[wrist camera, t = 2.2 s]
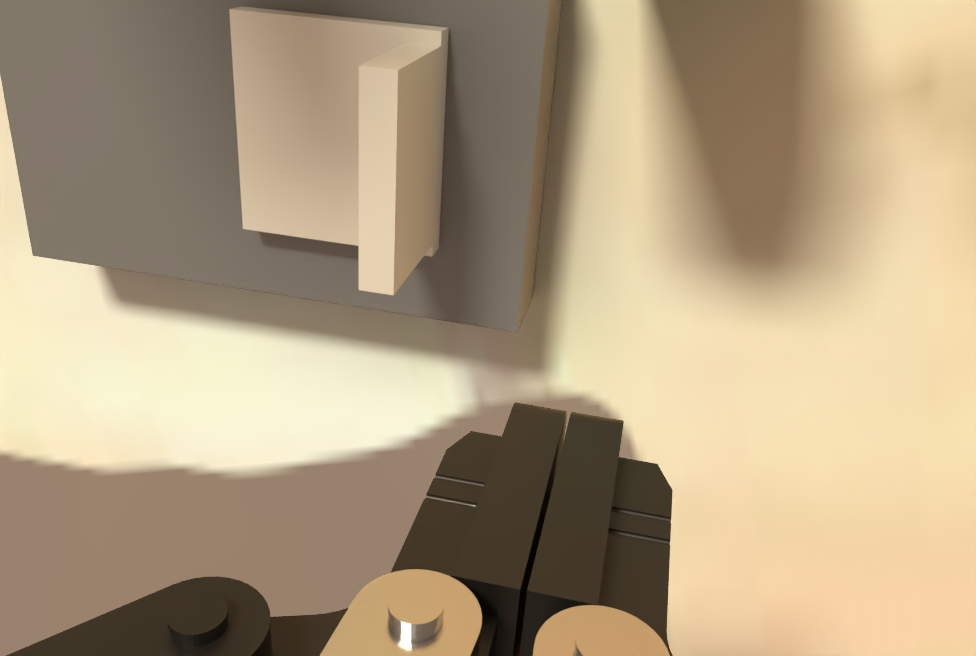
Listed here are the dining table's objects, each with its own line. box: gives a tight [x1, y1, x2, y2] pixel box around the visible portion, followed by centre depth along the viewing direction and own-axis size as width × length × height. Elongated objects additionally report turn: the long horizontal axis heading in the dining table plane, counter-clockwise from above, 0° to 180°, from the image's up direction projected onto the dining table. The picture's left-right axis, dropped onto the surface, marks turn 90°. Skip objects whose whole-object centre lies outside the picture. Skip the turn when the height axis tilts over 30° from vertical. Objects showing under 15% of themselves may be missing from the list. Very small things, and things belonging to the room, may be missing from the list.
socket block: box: [0, 0, 562, 332], centre depth 29 cm, size 18×12×3 cm, turn 86°
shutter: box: [229, 6, 449, 295], centre depth 25 cm, size 6×7×5 cm
